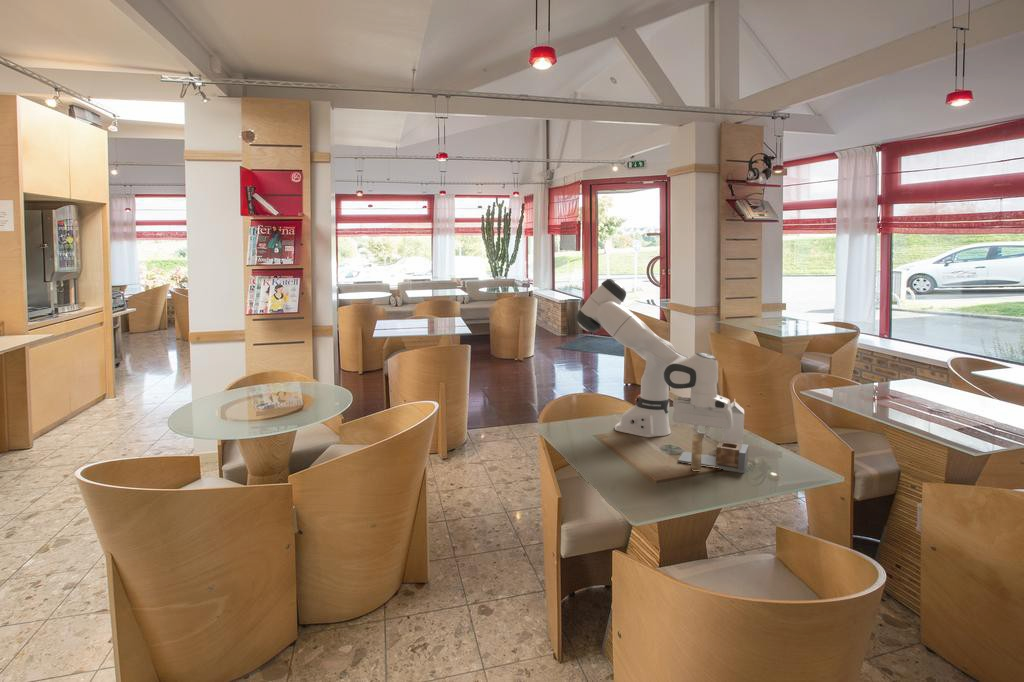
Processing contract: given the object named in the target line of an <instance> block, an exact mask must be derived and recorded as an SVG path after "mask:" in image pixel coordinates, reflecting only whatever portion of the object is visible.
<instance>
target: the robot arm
mask: <svg viewBox="0 0 1024 682" xmlns="http://www.w3.org/2000/svg"><path fill="white" fill-rule="evenodd" d="M626 297H627V291H626V290H625V287H624V286H623V285H622V283H621V282H620V281H618V280H615V279H612V278H606V279H604V281H603V282H602V283H600V286H598V287H597V288H596V289H595V290H594V291H593V292H592V293H591V294H590V296H589V298H588V299H587V300H586V301H585V303H584V304H583V305H582V306H581V308H580V309H579V310H578V312H577V313H576V316H575V319H576V320H575V321H576V322H577V324H578V325H579V327H580V328H581V329H583V330H584V331H586V332H589V333H595V332H598V331H601V330H602V328H603V329H604V330H605V332H607V333H608V334H609V336H611V337H612V338H613V339H614V340H615V341H616V342H618V344H620V345H622V346H624V347H625V348H628V349H631V350H632V351H633V352H635V354H637V355H638V356H639V357H641V359H643V360H644V361H645V366H644V371H643V375H642V376H641V380H640V394H638V395H636V398H635V399H634V403H635V405H633V406H632V407H630V408H629V409H627V410H626V411H624V412H623V414H622V415H621V418H620V421H619V422H617V423H616V424H615V425H614V430H615V431H617V432H621V433H626V434H629V435H635V436H640V437H643V438H653V437H664V436H669V435H670V434H671V433H672V430H671V427H670V422H669V412H670V398H669V391H670V390H669V388H672V389H676V390H679V389H680V390H681V389H690V396H689V397H684V396H683V397H682V396H677V397H675V398H674V399H673V400H672V407H673V412H672V421H673V422H674V423H676V424H677V423H678V424H686V425H693V429H694V430H695V432H696V435H701V436H703V439H706V437H707V433H708V432H709V430H710V428H716V429H717V428H718V429H722V430H723V429H730V428H731V427H732V425H733V415H732V410H731V408H730V407H729V406H730V404H731V400H730V399H729V398H727V397H725V396H722V395H719V393H718V388H717V384H718V380H719V363H718V360H717V358H716V357H715V356H714V355H712V354H711V353H707V352H696V353H694V354H692V355H691V356H688V355H686V354H682V353H679V352H678V351H677V349H676V347H675V346H674V345H673V344H672V343H671V342H670V341H669V340H666V339H664V338H662V337H661V336H659V335H658V334H656V333H655V332H654V331H653V330H652V329H651V328H650V327H649V326H648V325H647V324H646V323H645V322H644V321H643V320H642V319H640V318H639V317H638V316H637V315H636V314H635V313H634V312H632V311H631V310H630V309H628V308H627V307H626V306H624V305H623V304H621V303H624V301H625V299H626ZM700 426H701V427H704V430H705V431H700V429H699V427H700Z"/></svg>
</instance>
